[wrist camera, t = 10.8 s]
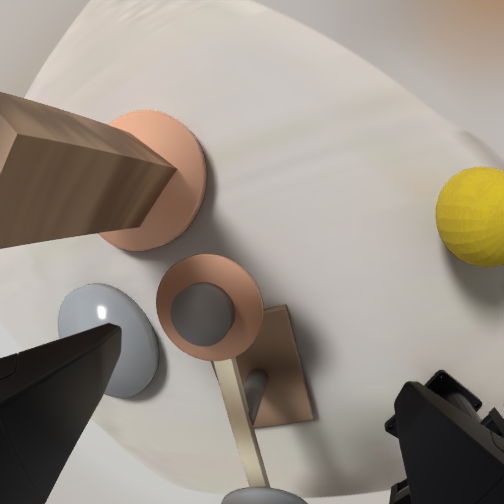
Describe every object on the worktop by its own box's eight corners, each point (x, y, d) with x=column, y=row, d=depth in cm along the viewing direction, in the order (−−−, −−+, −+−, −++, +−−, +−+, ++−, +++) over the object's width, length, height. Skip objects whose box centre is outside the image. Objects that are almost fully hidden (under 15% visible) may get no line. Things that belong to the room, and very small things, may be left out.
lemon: (447, 272, 19) (508, 304, 11) (403, 207, 19) (454, 207, 11) (498, 221, 17) (568, 230, 10) (457, 157, 18) (521, 136, 10)
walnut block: (177, 168, 20) (17, 133, 7) (139, 227, 21) (-24, 253, 8) (130, 132, 20) (-22, 86, 8) (96, 188, 21) (-57, 186, 9)
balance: (323, 454, 22) (319, 535, 14) (255, 462, 23) (232, 537, 15) (266, 232, 21) (232, 249, 12) (183, 254, 22) (109, 282, 13)
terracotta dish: (235, 157, 20) (231, 155, 19) (157, 276, 23) (150, 279, 21) (133, 93, 21) (125, 89, 20) (73, 200, 23) (63, 201, 22)
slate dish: (180, 339, 23) (173, 345, 22) (130, 409, 25) (124, 416, 24) (88, 258, 24) (79, 260, 22) (55, 339, 26) (47, 343, 25)
